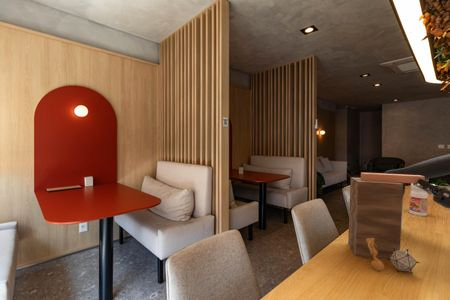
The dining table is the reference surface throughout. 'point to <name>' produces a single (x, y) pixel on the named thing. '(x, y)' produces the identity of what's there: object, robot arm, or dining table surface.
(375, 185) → the walnut pedestal
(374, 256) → the figurine
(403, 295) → the dining table surface
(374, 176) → the terracotta bar
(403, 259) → the game die
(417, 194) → the fruit juice
